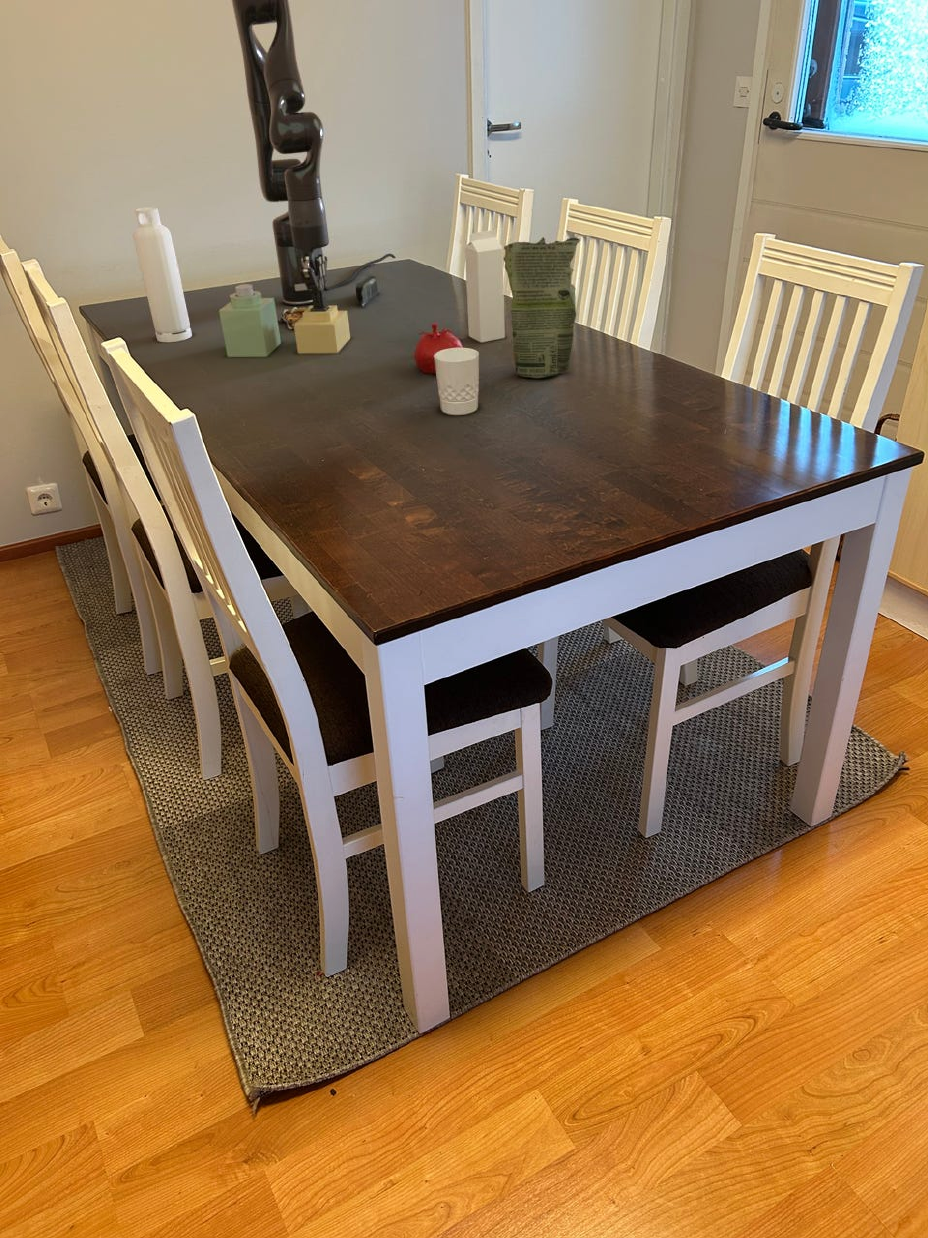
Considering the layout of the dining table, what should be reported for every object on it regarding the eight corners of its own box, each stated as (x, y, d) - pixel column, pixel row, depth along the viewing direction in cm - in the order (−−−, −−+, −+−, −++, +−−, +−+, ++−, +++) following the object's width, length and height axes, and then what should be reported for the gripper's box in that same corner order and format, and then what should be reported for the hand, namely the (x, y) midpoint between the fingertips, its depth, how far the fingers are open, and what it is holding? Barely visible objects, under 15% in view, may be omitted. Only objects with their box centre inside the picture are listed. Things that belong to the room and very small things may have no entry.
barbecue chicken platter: (294, 332, 217) (292, 316, 215) (277, 321, 226) (275, 306, 224) (322, 327, 220) (320, 311, 218) (304, 316, 229) (302, 301, 227)
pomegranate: (473, 367, 189) (471, 320, 184) (439, 380, 183) (436, 333, 178) (439, 358, 195) (436, 313, 190) (404, 371, 189) (400, 325, 184)
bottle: (196, 331, 222) (170, 204, 207) (185, 341, 215) (157, 211, 200) (164, 332, 223) (136, 206, 208) (151, 342, 216) (121, 212, 201)
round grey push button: (240, 294, 202) (238, 284, 201) (256, 294, 202) (254, 283, 201) (234, 298, 199) (232, 288, 198) (250, 298, 199) (248, 287, 198)
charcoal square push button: (315, 314, 205) (314, 305, 204) (329, 314, 204) (328, 305, 203) (311, 318, 202) (310, 309, 201) (325, 318, 202) (324, 308, 201)
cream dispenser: (312, 338, 212) (307, 302, 208) (350, 338, 211) (346, 302, 206) (297, 353, 203) (292, 316, 199) (337, 353, 202) (333, 315, 197)
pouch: (501, 374, 184) (497, 240, 171) (539, 358, 192) (538, 229, 178) (545, 384, 178) (545, 246, 164) (583, 368, 185) (585, 234, 171)
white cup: (449, 419, 165) (446, 364, 160) (430, 406, 171) (426, 352, 165) (488, 410, 168) (486, 355, 162) (468, 398, 174) (465, 344, 168)
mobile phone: (366, 274, 243) (351, 286, 230) (377, 273, 242) (363, 286, 230) (368, 293, 245) (354, 307, 233) (379, 293, 245) (365, 307, 232)
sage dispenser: (243, 343, 212) (233, 288, 205) (281, 343, 210) (272, 288, 204) (227, 356, 204) (216, 300, 197) (266, 356, 202) (257, 300, 196)
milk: (468, 336, 207) (463, 231, 196) (492, 331, 210) (488, 227, 198) (481, 343, 203) (476, 235, 191) (505, 338, 205) (502, 231, 193)
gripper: (316, 227, 187) (327, 315, 196) (334, 215, 198) (343, 299, 207) (280, 228, 188) (293, 315, 197) (300, 216, 199) (311, 299, 208)
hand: (319, 307), depth 202 cm, fingers closed
